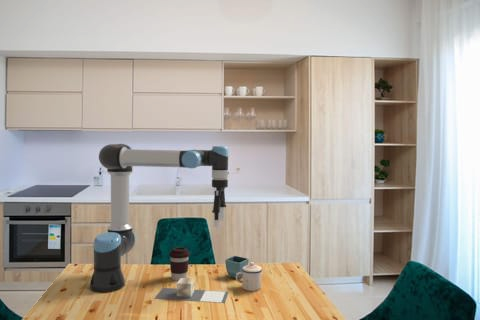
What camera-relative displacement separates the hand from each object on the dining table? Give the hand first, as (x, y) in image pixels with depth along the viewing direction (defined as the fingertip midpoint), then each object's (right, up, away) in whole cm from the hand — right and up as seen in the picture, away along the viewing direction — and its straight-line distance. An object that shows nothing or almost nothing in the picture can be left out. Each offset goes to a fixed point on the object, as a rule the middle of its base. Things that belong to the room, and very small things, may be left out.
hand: (219, 223), depth 183 cm
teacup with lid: (+14, -29, -5) cm, 32 cm away
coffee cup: (-19, -28, +3) cm, 34 cm away
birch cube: (-14, -28, -16) cm, 35 cm away
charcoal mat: (-11, -29, -17) cm, 35 cm away
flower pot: (+8, -28, +8) cm, 30 cm away
